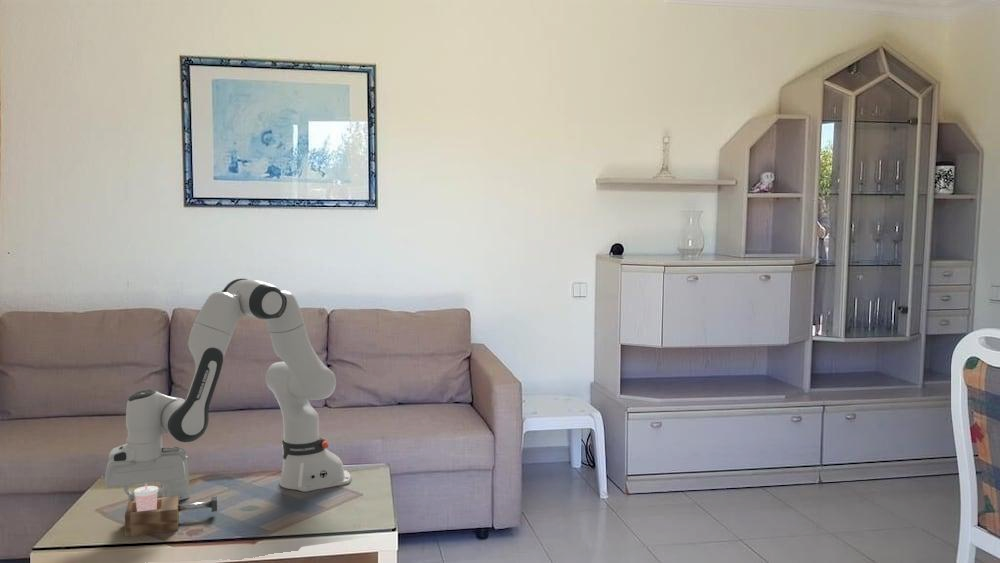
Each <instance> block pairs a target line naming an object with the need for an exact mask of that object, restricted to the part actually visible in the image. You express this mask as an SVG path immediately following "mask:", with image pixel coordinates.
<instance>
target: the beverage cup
mask: <svg viewBox="0 0 1000 563" xmlns="http://www.w3.org/2000/svg"><path fill="white" fill-rule="evenodd" d="M158 490H159V487H158V486H156V485H148V484H144V486H140V487H137V488H135V489H134V491H133V493H134V494H135V500H136V507H137V512H139V511H148V510H156V509H157V498H158Z"/></svg>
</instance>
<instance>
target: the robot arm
mask: <svg viewBox="0 0 1000 563" xmlns="http://www.w3.org/2000/svg"><path fill="white" fill-rule="evenodd" d="M199 310H200V311H199V312H198V314H197V316H196V319H195V320H194V322H193V325H192V327H191V330H190V332H189V336H188V342H187V346H188V349H189V351H190V353H191V355H192V358H193V361H194V366H195V369H194V370H195V371H194V375H193V378H192V380H191V383H190V386H189V389H188V391H187V392H188V393H187V395H186V397H185V399H184V398H181V397H177V396H176V397H175V396H170V395H166V394H163V393H161V392H159V391H157V390H156V389H145V390H140V391H137V392H135V393H134V394H132V395H130V396H129V398H128V400H127V403H126V406H125V407H126V408H125V426H126V430H127V438H126V443H124V444H121V445H119V446H116V447H114V448H112V449H111V450H110V452H109V454H108V462H107V465H106V468H105V473H104V486H105V487H106V488H107V489H110V488H120V487H123V491H124V493H125V494H126V495H127V496H128V498H127V499H128V501H134V500H136V497H135V494H134V492H131V490H130V488H131V487H130V486H140V485H145V484H147V485H150V484H156V483H157V484H158V483H160V482H162V486H163V488H162V489H161V488H160V489H158V492H157V498H162V497H164V491H165V489H166V487H167V486H168V481H178V480H182V479H183V478H184V477H185V466H184V461H185V459H186V456H187V453H186V450H185V449H184V448H182V447H180V446H175V447H163V435H164V434H168V433H169V434H170V435H171V436H172V437H173V438H174V439H175V440H176V441H178V442H181V443H190V442H191V443H192V442H195V441H196V440H198V439H199V438H201V437H202V436H203V435H204V434H205V432H206V431H207V429H208V427H209V413H210V411H209V409H210V405H211V401H212V399H213V395H214V393H215V389H216V386H217V384H218V380H219V377H220V375H221V370H222V367H223V363H224V359H225V355H226V352H227V350H228V347H229V344H230V342H231V340H232V338H233V334H234V331H236V330H235V329H236V326H237V324H238V323H239V321H240V320H241V319H242V318H243V317H248V318H257V319H260V320H265V322H266V326H267V329H268V334H269V337H270V341H271V345H272V349H273V351H274V353H275V355H276V356H277V357H278V358H280V359H281V360H282V361H277V362H274V363H272V364H271V365H270V366H269V367H268V369H267V370H266V373H265V385H266V386H267V388H268V389H269V391H271V393H272V394H273V395H274V397H275V399H276V401H277V403H278V406H279V409H280V412H281V415H282V427H283V430H282V431H283V439H282V443H281V453H282V456H281V457H282V459H283V461H282V468H281V473H280V480H279V482H278V484H279V486H280V487H281V488H284V489H288V490H297V491H300V492H310V491H317V490H322V489H326V488H327V489H329V488H333V487H338V486H343V485H347V484H349V483H350V482H352V481H351V474H350V472H349V471H348V470H346V469H344V464H343V462H342V460H341V458H340V457H339V456H338V455H336V454H335V453H333V452H331V451H330V450H329V449H327V448H329V442H328V441H327V440H325V439H324V438H323V437H322V436H321V437H320V428H319V427H320V418H319V414H318V412H317V411H316V410H315V408H314V407H313V406H312V405H311V403H310V401H316V400H317V401H319V400H325V399H328V398H329V397H331V396H332V395H333V393H334V392H335V390H336V386H337V380H336V374H335V373H334V371H332V369H330V368H329V367H328V366H327V365H325V364H324V362H323V361H322V359H320V357H319V355H318V354H317V353H316V351H315V350H314V348H313V346H312V344H311V341H310V338H309V336H308V332H307V328H306V324H305V320H304V316H303V313H302V310H301V308H300V305H299V303H298V300H297V299H296V297H295V295H294V294H293V293H292V292H290V291H288V290H281V289H279V288H278V287H277V286H276V285H274V284H272V283H268V282H264V281H262V280H258V279H248V278H236V279H234V280H233V279H232V281H230V282H229V283H227V285H226V286H225V287H224V288H223V290H221V291H215V292H213V293H211V294H210V295H209V296H208V297H207V299H206V300H205V302H204V303H203V305H202V307H201V308H200V309H199ZM309 400H310V401H309Z"/></svg>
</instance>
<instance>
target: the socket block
mask: <svg viewBox="0 0 1000 563" xmlns="http://www.w3.org/2000/svg"><path fill="white" fill-rule="evenodd" d="M179 501H180V500H179V499H178V496H169V497H162V498H158V497H157V509H156V510H148V511H139V512H137V507H136V499H135V500H134V501H129V500H128V501H127V506H126V510H125V513H124V526H125V538H130V537H137V536H145V535H153V534H161V533H162V534H163V533H169V532H177V531H179V521H180V511H179V512H178V505H180V504H179Z"/></svg>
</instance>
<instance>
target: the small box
mask: <svg viewBox="0 0 1000 563" xmlns="http://www.w3.org/2000/svg"><path fill="white" fill-rule="evenodd" d="M184 466H185V477H184V478H183V479H182V480H178V481H168V486H167V487H166V489H165V491H164V497H169V496H178V499H179V501H182V500H186V499H190V477H189V476H190V472H189V469H190V468H189V466H190V465H189V456H188V455H186V459H185V461H184ZM159 483H160V490H161V489H162V488H163V486H162V482H159Z"/></svg>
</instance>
